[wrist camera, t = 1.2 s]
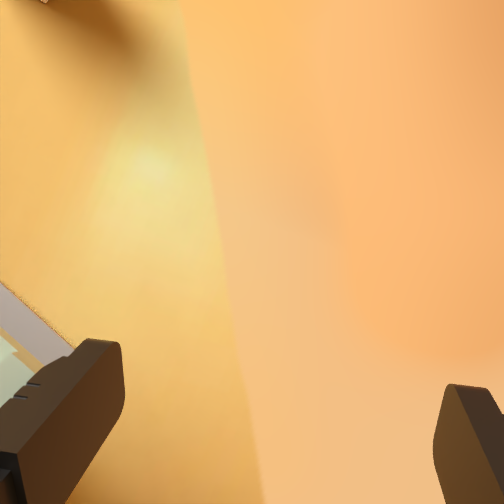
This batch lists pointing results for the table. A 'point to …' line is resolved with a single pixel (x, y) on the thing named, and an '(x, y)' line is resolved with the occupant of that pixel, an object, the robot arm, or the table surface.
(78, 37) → the table surface
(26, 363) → the cradle stand
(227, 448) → the table surface
